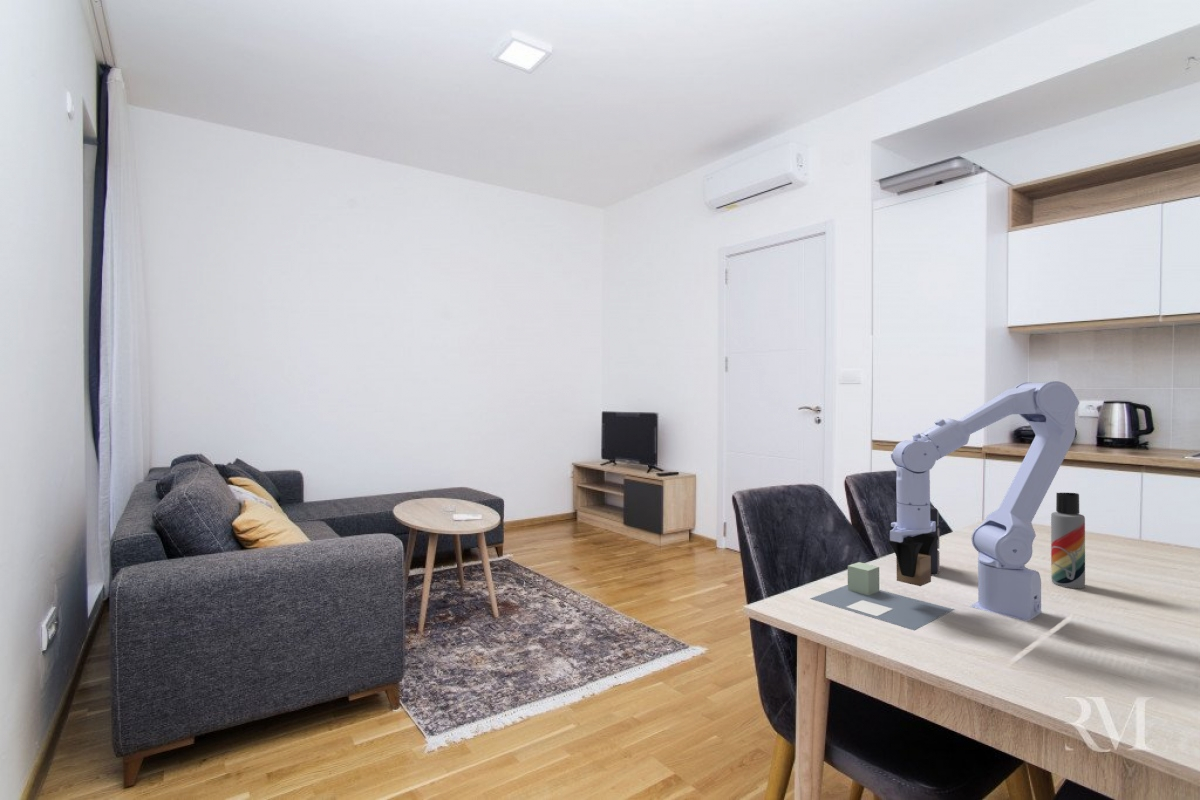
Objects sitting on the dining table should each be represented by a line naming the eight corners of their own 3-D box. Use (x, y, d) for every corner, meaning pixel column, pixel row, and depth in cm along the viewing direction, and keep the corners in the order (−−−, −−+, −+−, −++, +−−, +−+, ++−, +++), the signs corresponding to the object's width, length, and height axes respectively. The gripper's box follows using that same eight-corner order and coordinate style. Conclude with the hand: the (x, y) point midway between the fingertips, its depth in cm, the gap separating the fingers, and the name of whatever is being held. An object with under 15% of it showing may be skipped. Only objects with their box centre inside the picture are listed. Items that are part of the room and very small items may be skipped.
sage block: (879, 591, 120) (879, 566, 120) (868, 595, 117) (868, 570, 117) (858, 585, 123) (858, 562, 123) (847, 589, 120) (847, 565, 120)
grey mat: (954, 612, 109) (954, 608, 109) (914, 633, 99) (914, 629, 99) (852, 585, 125) (852, 582, 125) (809, 601, 115) (809, 598, 115)
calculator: (941, 574, 133) (941, 509, 133) (921, 573, 133) (920, 508, 133) (924, 561, 143) (924, 500, 143) (905, 560, 144) (905, 500, 144)
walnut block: (930, 581, 112) (930, 555, 112) (920, 586, 109) (920, 559, 109) (907, 576, 115) (907, 551, 115) (896, 580, 113) (896, 554, 113)
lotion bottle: (1056, 586, 124) (1056, 493, 124) (1047, 579, 129) (1047, 489, 129) (1089, 590, 121) (1089, 494, 121) (1079, 582, 127) (1078, 490, 127)
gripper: (909, 496, 120) (910, 562, 120) (873, 504, 111) (874, 575, 111) (946, 500, 114) (947, 569, 114) (911, 509, 105) (912, 584, 105)
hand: (914, 573), depth 112 cm, fingers closed on walnut block, 4 cm apart
